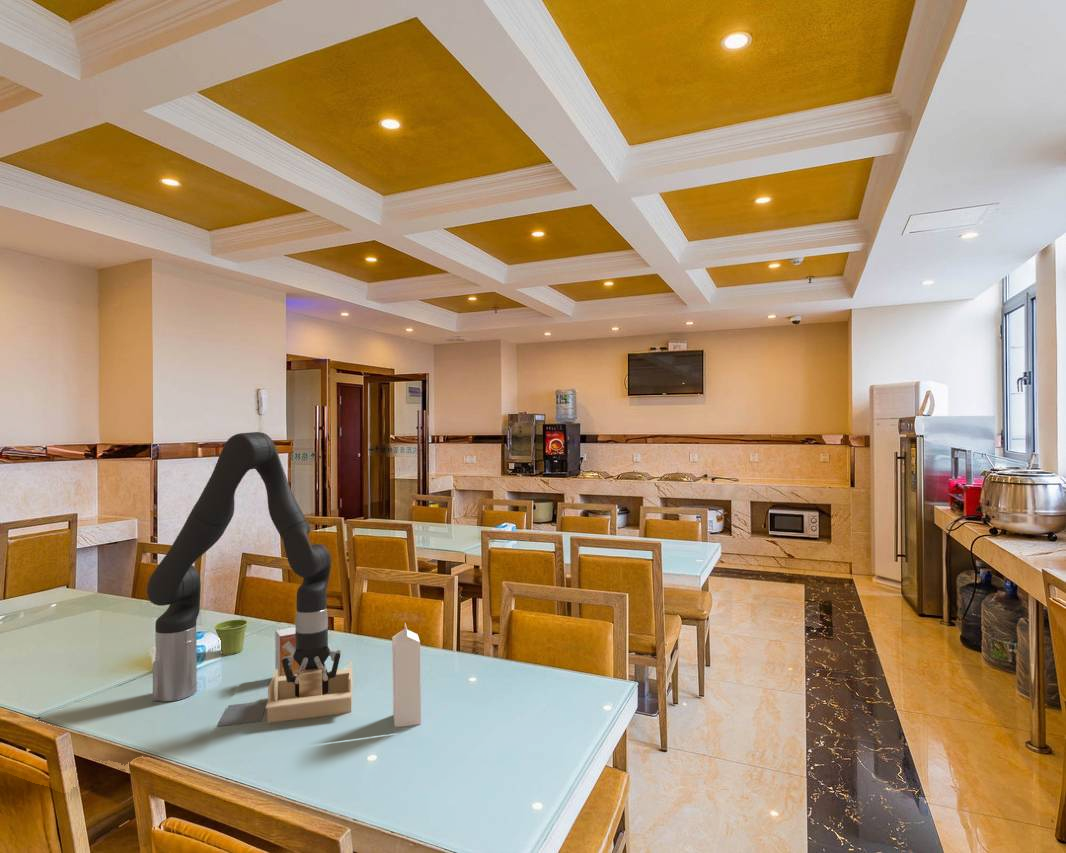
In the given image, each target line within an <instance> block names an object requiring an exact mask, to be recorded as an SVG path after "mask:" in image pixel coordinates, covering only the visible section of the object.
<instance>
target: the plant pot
mask: <svg viewBox="0 0 1066 853" xmlns="http://www.w3.org/2000/svg"><path fill="white" fill-rule="evenodd" d="M248 624H249V620H246V619H230V620H225V621H222V622H219V623H217V624H214V626H213V627H214V630H215V632H216V635H217V638H218V637H219V638H220V640H221V652H222V653H221V652H220V653H221V655H222V654H223V655H222V656H232V655H233V654H240V653H241V652H242V651H243V650H244V649H243V648H244V643H245V642H244V641H245V633H246V629H247V625H248Z"/></svg>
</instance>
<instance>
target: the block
mask: <svg viewBox="0 0 1066 853" xmlns="http://www.w3.org/2000/svg"><path fill="white" fill-rule="evenodd" d="M322 681H323V678H322V669H318V668H317V669H307V670H304V671H300V674H299V698H302V697H310V696H319V695H322Z"/></svg>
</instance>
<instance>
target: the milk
mask: <svg viewBox="0 0 1066 853" xmlns="http://www.w3.org/2000/svg"><path fill="white" fill-rule="evenodd" d="M391 640H392V647H391V648H392V714H393V723H394V724H393V725H394V727H395V728H396V727H398V728H404V727H411V726H417V725H418V726H419V725H421V724H422V696H421V695H422V689H421V688H422V686H421V685H422V683H421V680H422V679H421V677H422V676H421V675H422V674H421V673H422V672H421V640H420V638H419V635H418V633H416V632H413V631H412V630H410V629H408V627H407V624H406V623H404V629H402V630H401V631H399V632H398V633H397V634H395V635H394V636H392V637H391Z"/></svg>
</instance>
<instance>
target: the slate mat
mask: <svg viewBox="0 0 1066 853" xmlns="http://www.w3.org/2000/svg"><path fill="white" fill-rule="evenodd" d="M267 703H268V700H262V701H253V702H245V703H237V704H230V705H228V706H227V708H226V710H225V712H224V714H223V716H222V718H221V719H220V722H219V723H218V725H217V727H218V728H220V727H228V726H229V727H230V726H237V725H238V726H239V725H244V724H251V723H260V722H262V719H263V716H264V714H265V711H266V710H267V709H266V705H267Z"/></svg>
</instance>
